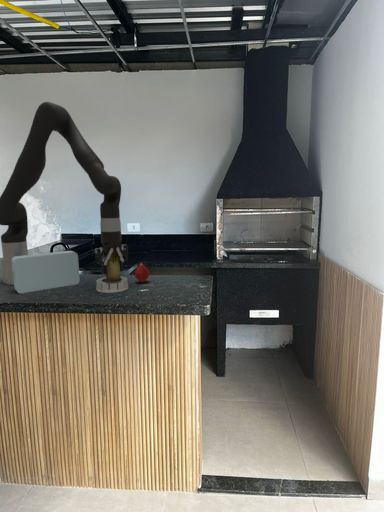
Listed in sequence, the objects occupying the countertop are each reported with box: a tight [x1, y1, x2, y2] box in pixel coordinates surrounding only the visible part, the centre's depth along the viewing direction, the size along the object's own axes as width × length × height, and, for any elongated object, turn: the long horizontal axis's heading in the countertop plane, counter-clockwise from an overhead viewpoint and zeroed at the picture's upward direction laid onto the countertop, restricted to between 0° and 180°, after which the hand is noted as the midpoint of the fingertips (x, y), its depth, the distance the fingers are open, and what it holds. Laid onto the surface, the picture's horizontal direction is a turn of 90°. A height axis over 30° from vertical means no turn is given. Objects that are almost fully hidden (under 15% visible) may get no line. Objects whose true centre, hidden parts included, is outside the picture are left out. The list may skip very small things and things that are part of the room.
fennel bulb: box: [105, 254, 122, 281], centre depth 131 cm, size 6×5×12 cm
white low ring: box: [95, 275, 129, 294], centre depth 131 cm, size 12×12×4 cm
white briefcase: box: [11, 250, 81, 294], centre depth 133 cm, size 23×6×13 cm, turn 126°
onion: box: [134, 263, 150, 283], centre depth 139 cm, size 6×6×8 cm
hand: (113, 272), depth 131 cm, fingers closed on fennel bulb, 6 cm apart
